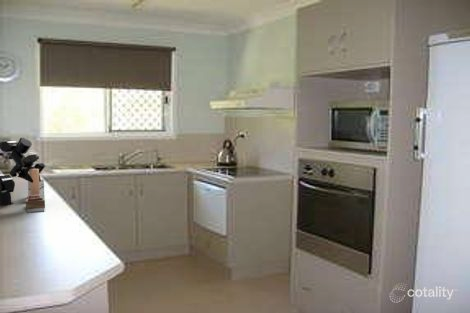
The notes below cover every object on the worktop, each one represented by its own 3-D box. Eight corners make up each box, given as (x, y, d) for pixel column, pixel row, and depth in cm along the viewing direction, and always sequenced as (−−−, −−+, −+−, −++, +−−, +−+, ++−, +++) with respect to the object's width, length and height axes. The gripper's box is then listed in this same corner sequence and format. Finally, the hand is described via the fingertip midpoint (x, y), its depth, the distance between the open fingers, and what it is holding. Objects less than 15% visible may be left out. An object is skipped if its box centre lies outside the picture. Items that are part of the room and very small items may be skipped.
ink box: (36, 200, 269) (35, 180, 268) (28, 200, 270) (27, 180, 269) (45, 198, 278) (44, 178, 277) (37, 198, 279) (36, 178, 278)
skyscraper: (35, 197, 280) (33, 150, 278) (24, 197, 282) (22, 150, 280) (43, 195, 288) (41, 149, 286) (32, 195, 290) (30, 149, 287)
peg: (28, 194, 248) (27, 169, 247) (35, 193, 252) (34, 168, 251) (35, 194, 246) (34, 169, 245) (41, 193, 250) (40, 168, 249)
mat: (27, 210, 241) (27, 209, 241) (44, 208, 244) (44, 207, 244) (26, 213, 234) (26, 211, 234) (44, 211, 237) (44, 210, 237)
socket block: (26, 206, 252) (26, 198, 252) (44, 205, 255) (44, 197, 255) (26, 209, 244) (25, 201, 243) (45, 207, 247) (44, 200, 247)
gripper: (12, 150, 240) (29, 173, 236) (41, 148, 257) (57, 169, 253) (2, 165, 244) (18, 187, 240) (31, 162, 261) (47, 183, 257)
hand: (36, 181), depth 248 cm, fingers closed on peg, 4 cm apart
